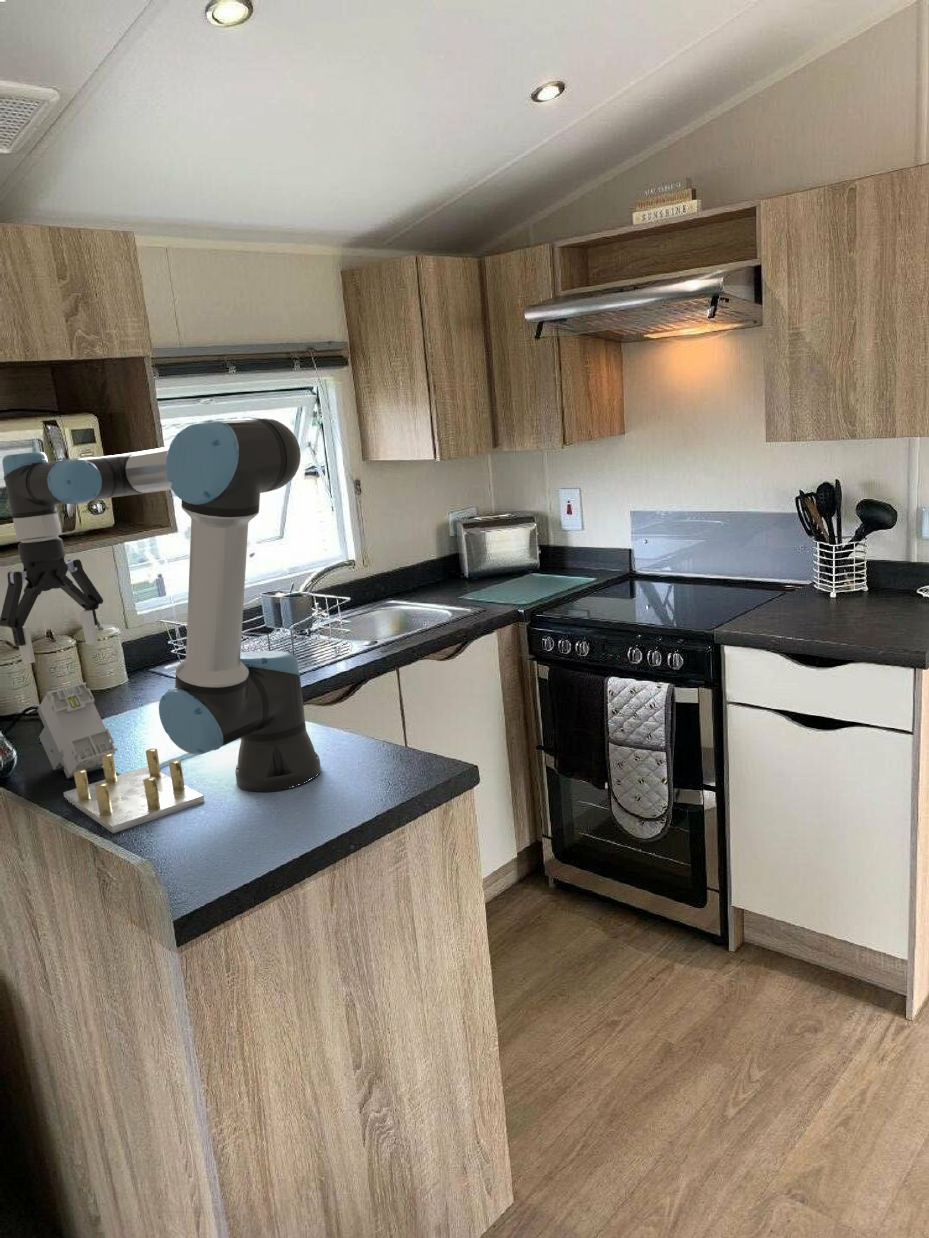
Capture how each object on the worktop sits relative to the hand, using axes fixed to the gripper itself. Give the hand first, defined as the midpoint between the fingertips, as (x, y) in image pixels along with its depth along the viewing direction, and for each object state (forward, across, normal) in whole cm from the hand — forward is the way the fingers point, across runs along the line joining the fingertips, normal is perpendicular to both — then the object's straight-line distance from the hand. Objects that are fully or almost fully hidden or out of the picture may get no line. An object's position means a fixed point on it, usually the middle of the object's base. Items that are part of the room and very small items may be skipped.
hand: (61, 652), depth 179 cm
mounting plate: (+25, +5, +19) cm, 32 cm away
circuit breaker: (+24, -1, 0) cm, 24 cm away
